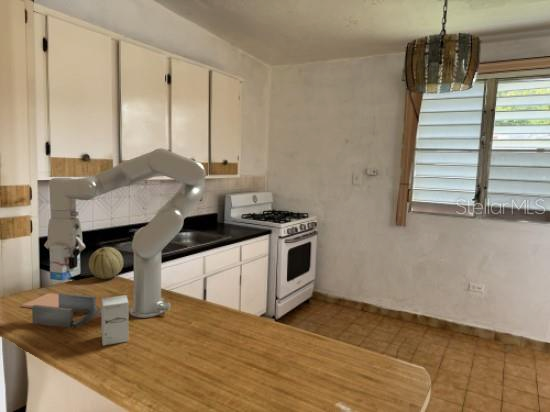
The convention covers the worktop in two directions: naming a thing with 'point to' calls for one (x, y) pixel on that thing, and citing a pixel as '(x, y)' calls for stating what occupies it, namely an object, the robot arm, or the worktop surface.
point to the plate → (44, 301)
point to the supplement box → (114, 319)
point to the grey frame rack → (66, 311)
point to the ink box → (62, 263)
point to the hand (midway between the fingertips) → (65, 266)
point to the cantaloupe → (106, 262)
